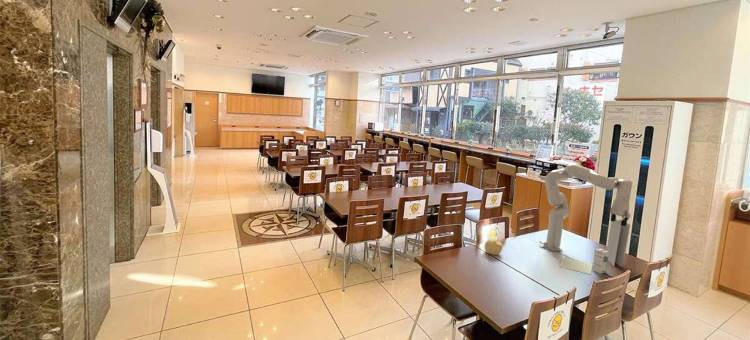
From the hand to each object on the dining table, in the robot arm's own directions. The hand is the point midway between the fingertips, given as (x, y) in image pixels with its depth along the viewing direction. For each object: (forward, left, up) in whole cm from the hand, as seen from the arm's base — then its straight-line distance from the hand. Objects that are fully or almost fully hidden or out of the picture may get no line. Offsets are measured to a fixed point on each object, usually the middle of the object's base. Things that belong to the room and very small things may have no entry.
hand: (618, 223), depth 238 cm
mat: (-19, -15, -31) cm, 39 cm away
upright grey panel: (+2, +10, -31) cm, 32 cm away
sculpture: (-70, -32, -31) cm, 83 cm away
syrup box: (-6, -15, -31) cm, 35 cm away
